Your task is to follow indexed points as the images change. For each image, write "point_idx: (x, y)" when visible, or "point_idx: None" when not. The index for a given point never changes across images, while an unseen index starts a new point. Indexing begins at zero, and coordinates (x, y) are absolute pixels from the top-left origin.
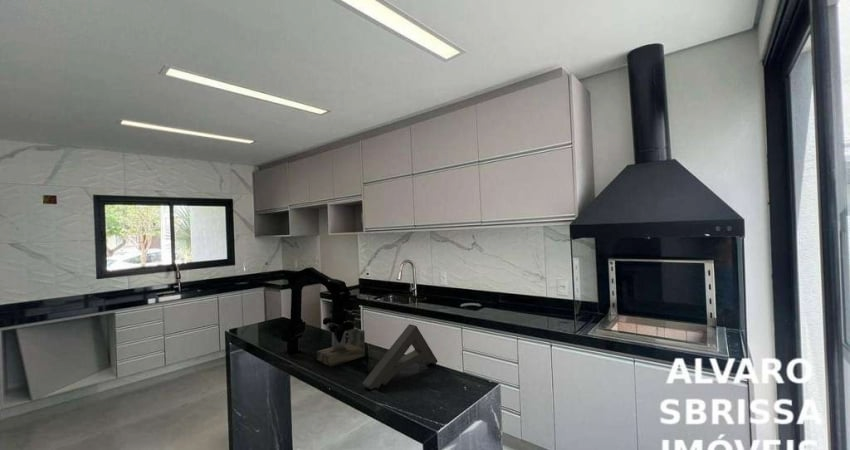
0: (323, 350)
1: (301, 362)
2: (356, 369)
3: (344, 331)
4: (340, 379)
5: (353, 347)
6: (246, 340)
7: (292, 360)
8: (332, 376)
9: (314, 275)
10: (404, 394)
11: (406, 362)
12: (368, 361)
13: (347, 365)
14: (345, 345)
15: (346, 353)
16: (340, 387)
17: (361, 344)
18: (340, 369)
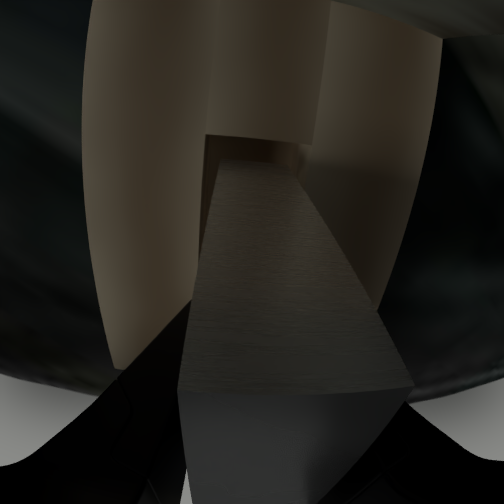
0: (128, 336)
1: (111, 379)
2: (492, 258)
3: (381, 386)
4: (468, 360)
5: (330, 53)
6: None
7: (56, 380)
8: (424, 372)
9: None
10: None
11: None
12: (493, 111)
13: (418, 252)
14: (153, 67)
15: (397, 243)
16: (488, 379)
17: (465, 32)
18: (415, 315)
